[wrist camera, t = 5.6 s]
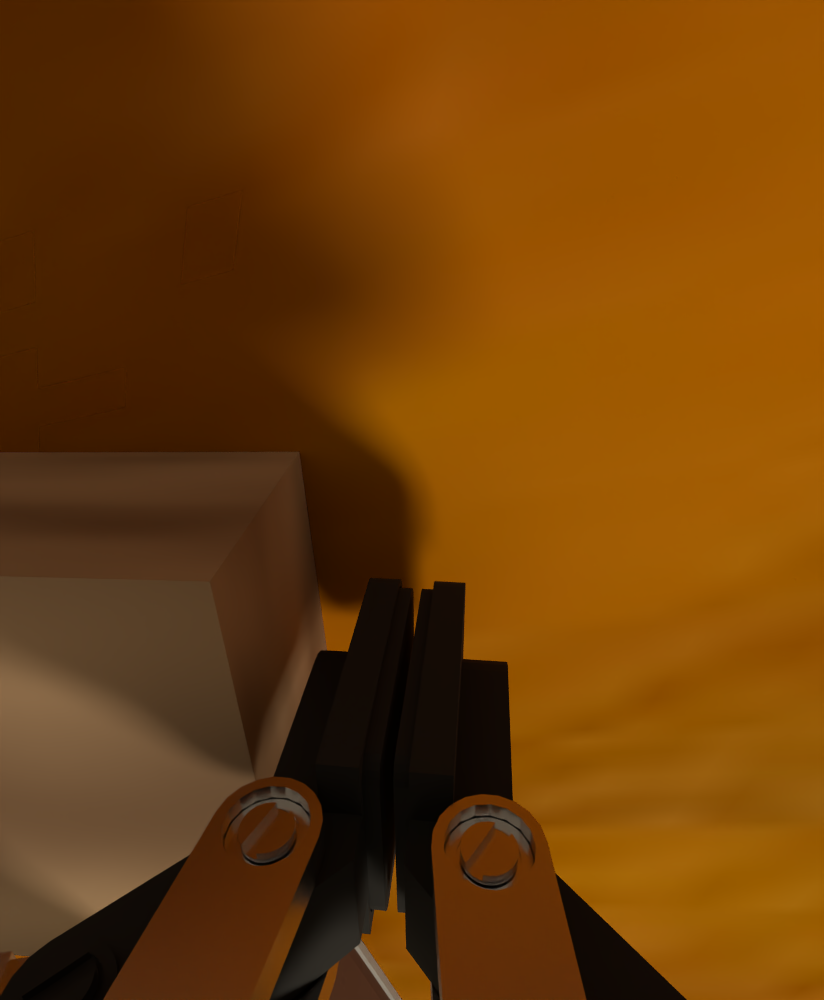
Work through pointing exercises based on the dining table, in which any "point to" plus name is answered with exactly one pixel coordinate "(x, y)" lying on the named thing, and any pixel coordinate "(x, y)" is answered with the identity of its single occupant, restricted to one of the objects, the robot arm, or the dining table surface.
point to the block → (140, 663)
